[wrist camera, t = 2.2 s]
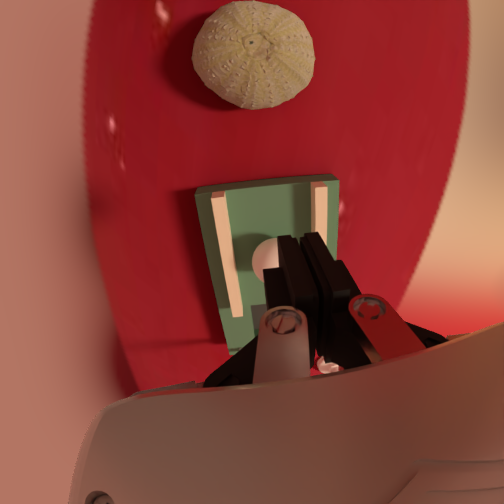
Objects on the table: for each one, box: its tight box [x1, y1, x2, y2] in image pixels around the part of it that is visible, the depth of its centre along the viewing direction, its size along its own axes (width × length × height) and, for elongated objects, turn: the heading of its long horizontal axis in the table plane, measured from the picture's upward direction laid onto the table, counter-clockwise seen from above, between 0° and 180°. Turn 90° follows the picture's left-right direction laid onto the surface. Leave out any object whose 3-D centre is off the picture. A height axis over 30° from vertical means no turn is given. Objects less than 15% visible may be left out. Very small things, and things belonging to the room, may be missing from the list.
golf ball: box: [252, 238, 279, 282], centre depth 24 cm, size 4×4×4 cm
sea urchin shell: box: [191, 0, 316, 110], centre depth 17 cm, size 9×8×8 cm
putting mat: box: [195, 174, 339, 355], centre depth 23 cm, size 20×14×14 cm
